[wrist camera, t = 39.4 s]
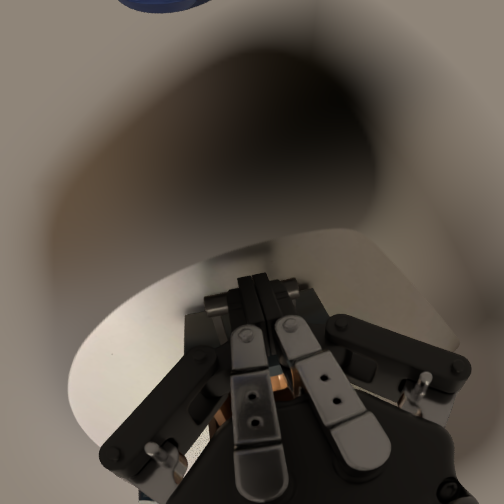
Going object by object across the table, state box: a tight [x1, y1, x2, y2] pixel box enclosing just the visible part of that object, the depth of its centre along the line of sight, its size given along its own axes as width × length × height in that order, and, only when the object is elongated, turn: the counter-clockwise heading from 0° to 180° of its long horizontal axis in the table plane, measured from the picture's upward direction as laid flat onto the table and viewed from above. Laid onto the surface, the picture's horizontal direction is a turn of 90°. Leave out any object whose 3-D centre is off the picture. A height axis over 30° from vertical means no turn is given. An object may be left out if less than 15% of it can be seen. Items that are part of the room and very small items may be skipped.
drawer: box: [184, 278, 330, 426], centre depth 23 cm, size 18×11×7 cm, turn 8°
